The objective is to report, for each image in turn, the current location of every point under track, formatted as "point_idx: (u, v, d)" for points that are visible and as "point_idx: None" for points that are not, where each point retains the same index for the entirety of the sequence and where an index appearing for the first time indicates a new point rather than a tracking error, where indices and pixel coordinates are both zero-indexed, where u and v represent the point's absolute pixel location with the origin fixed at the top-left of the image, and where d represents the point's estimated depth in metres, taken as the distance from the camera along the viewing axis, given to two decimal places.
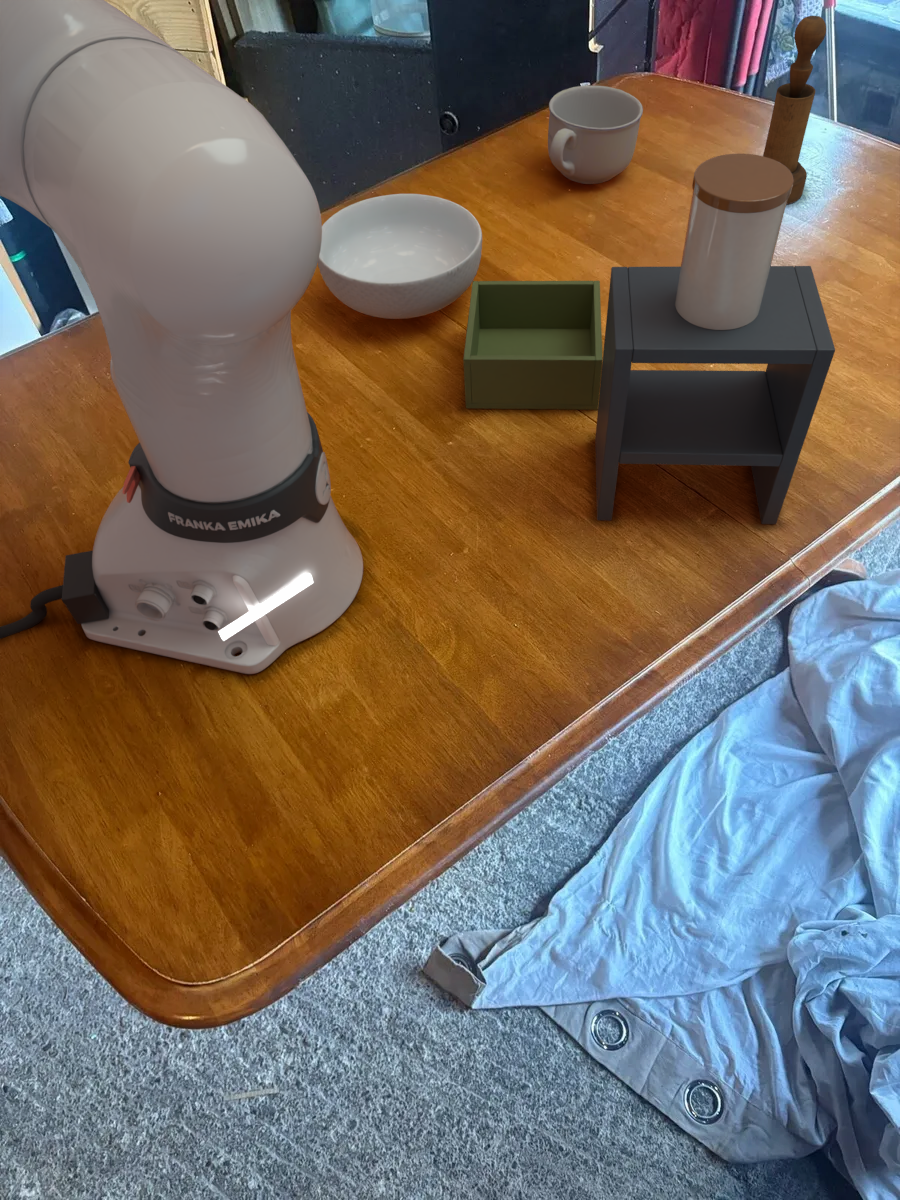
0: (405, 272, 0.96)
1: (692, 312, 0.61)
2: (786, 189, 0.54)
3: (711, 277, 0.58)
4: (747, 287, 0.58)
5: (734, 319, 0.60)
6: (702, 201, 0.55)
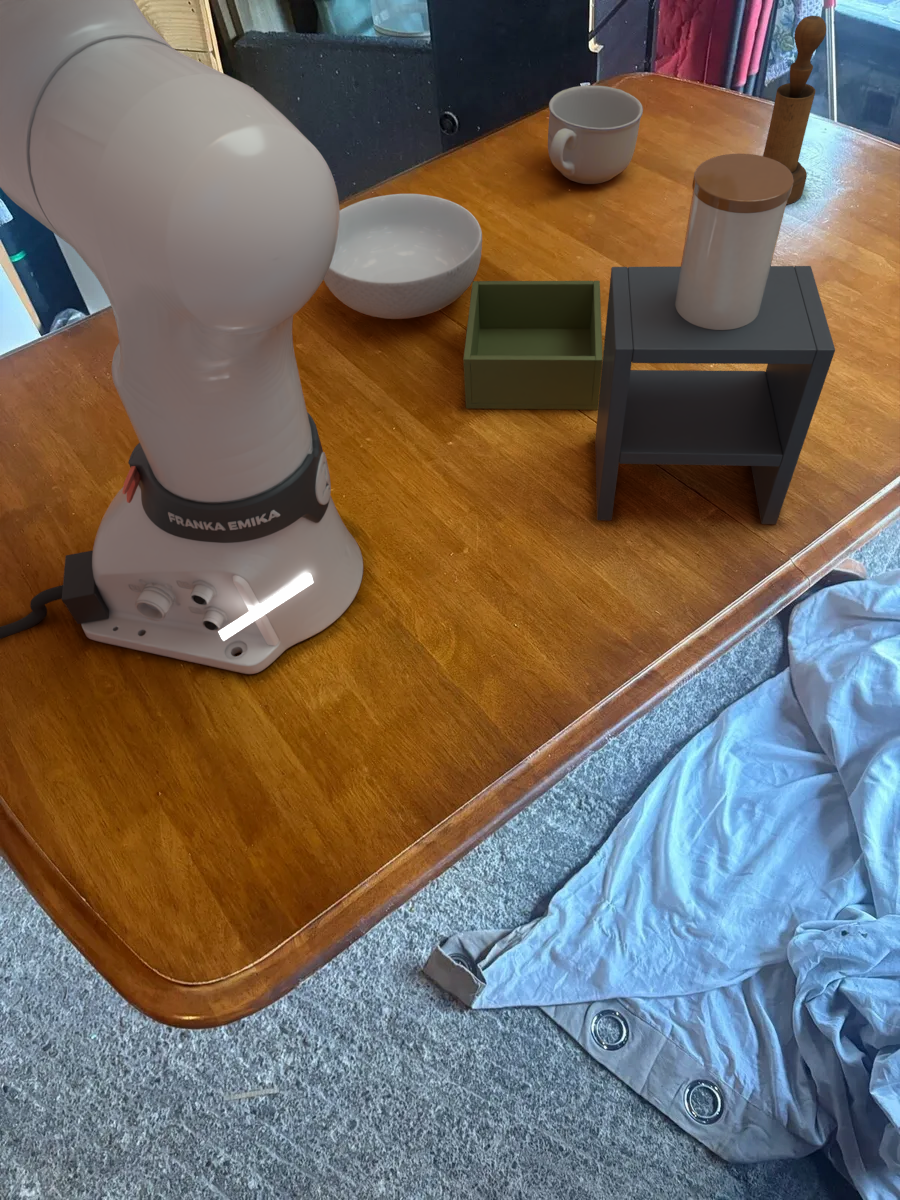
0: (405, 272, 0.96)
1: (692, 312, 0.61)
2: (786, 189, 0.54)
3: (711, 277, 0.58)
4: (747, 287, 0.58)
5: (734, 319, 0.60)
6: (702, 201, 0.55)
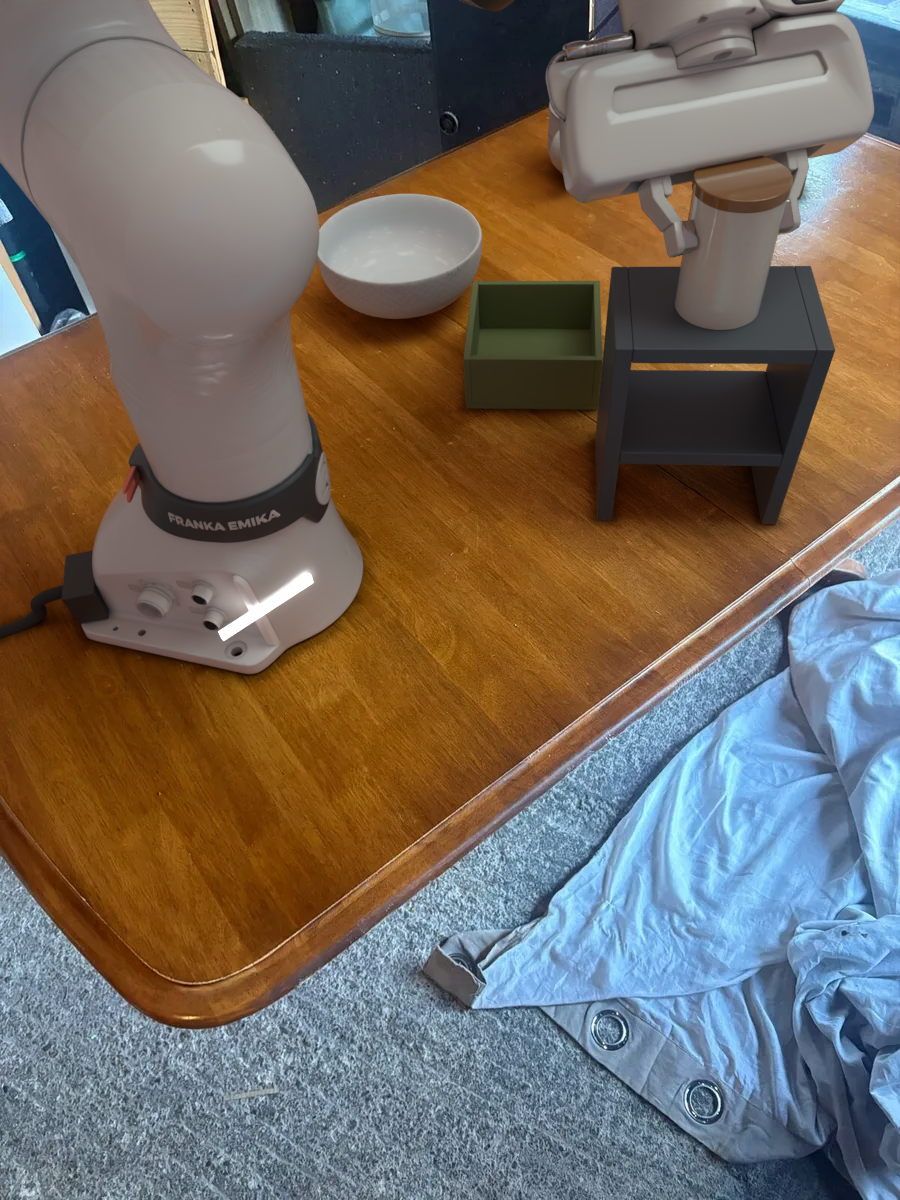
0: (405, 272, 0.96)
1: (691, 312, 0.61)
2: (785, 189, 0.54)
3: (711, 277, 0.58)
4: (746, 287, 0.58)
5: (734, 319, 0.60)
6: (701, 202, 0.55)
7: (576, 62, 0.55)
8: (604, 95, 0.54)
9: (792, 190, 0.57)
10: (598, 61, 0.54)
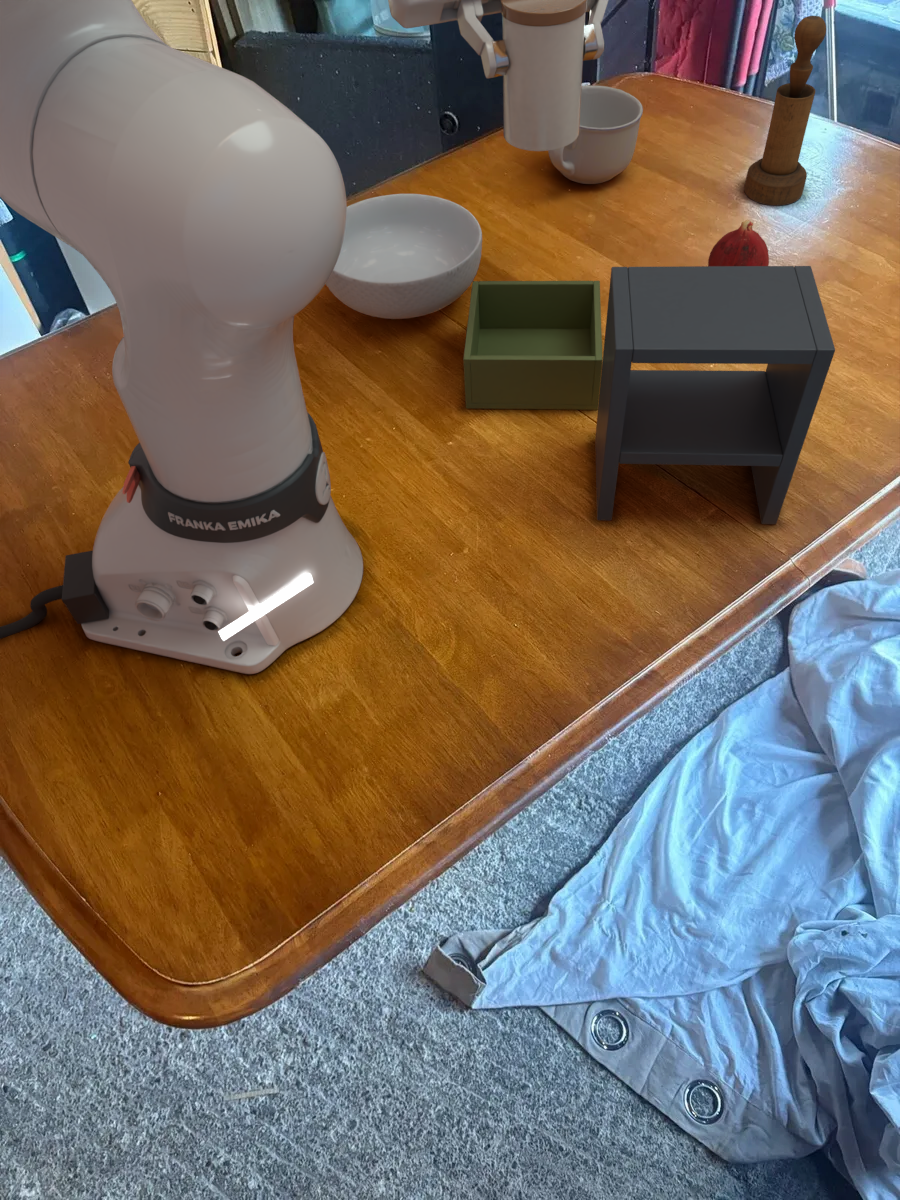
0: (405, 272, 0.96)
1: (513, 135, 0.67)
2: (578, 4, 0.60)
3: (523, 95, 0.64)
4: (556, 105, 0.64)
5: (550, 139, 0.66)
6: (506, 19, 0.61)
7: None
8: None
9: (595, 15, 0.63)
10: None
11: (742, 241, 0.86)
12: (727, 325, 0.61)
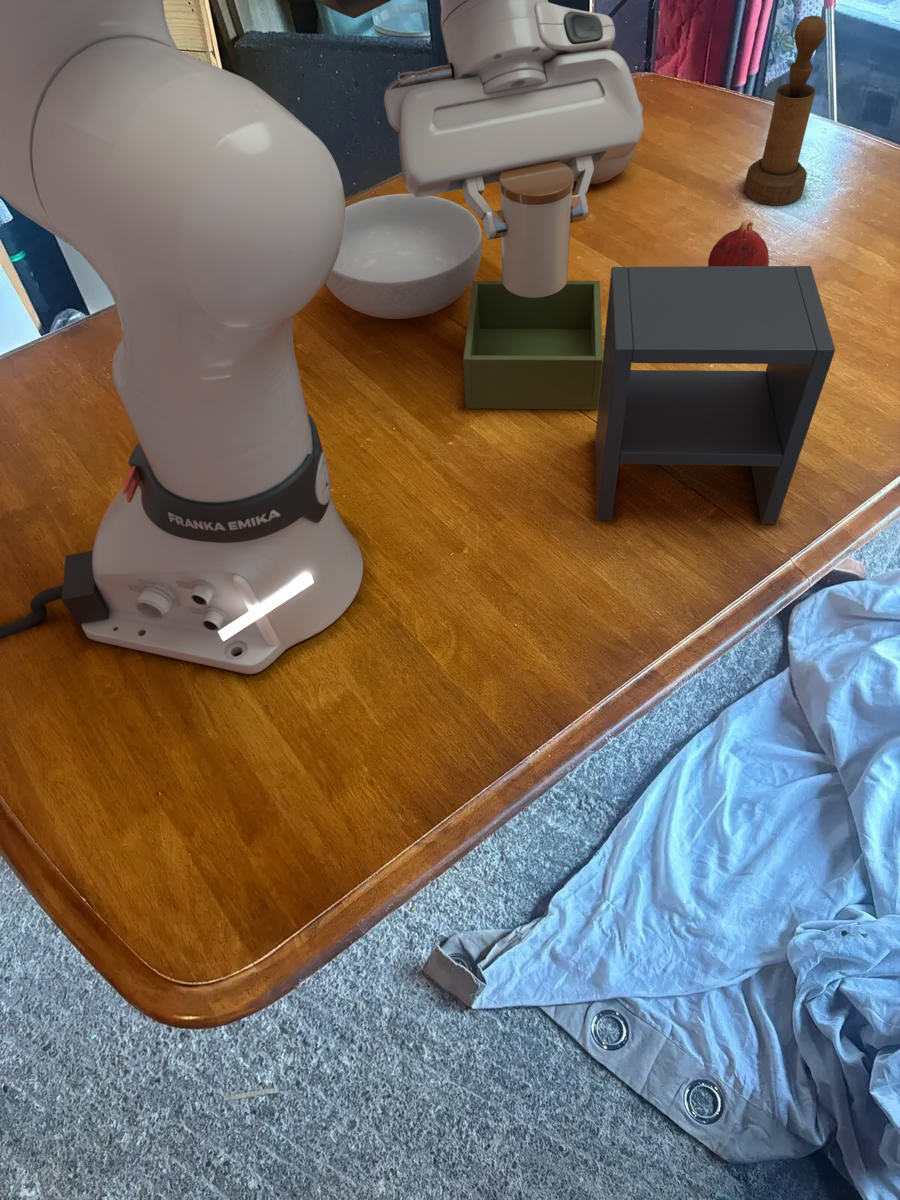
0: (405, 272, 0.96)
1: (511, 284, 0.77)
2: (565, 186, 0.70)
3: (519, 255, 0.74)
4: (548, 263, 0.75)
5: (542, 288, 0.76)
6: (504, 196, 0.71)
7: (407, 88, 0.71)
8: (427, 114, 0.71)
9: (581, 187, 0.74)
10: (421, 88, 0.70)
11: (742, 241, 0.86)
12: (727, 325, 0.61)
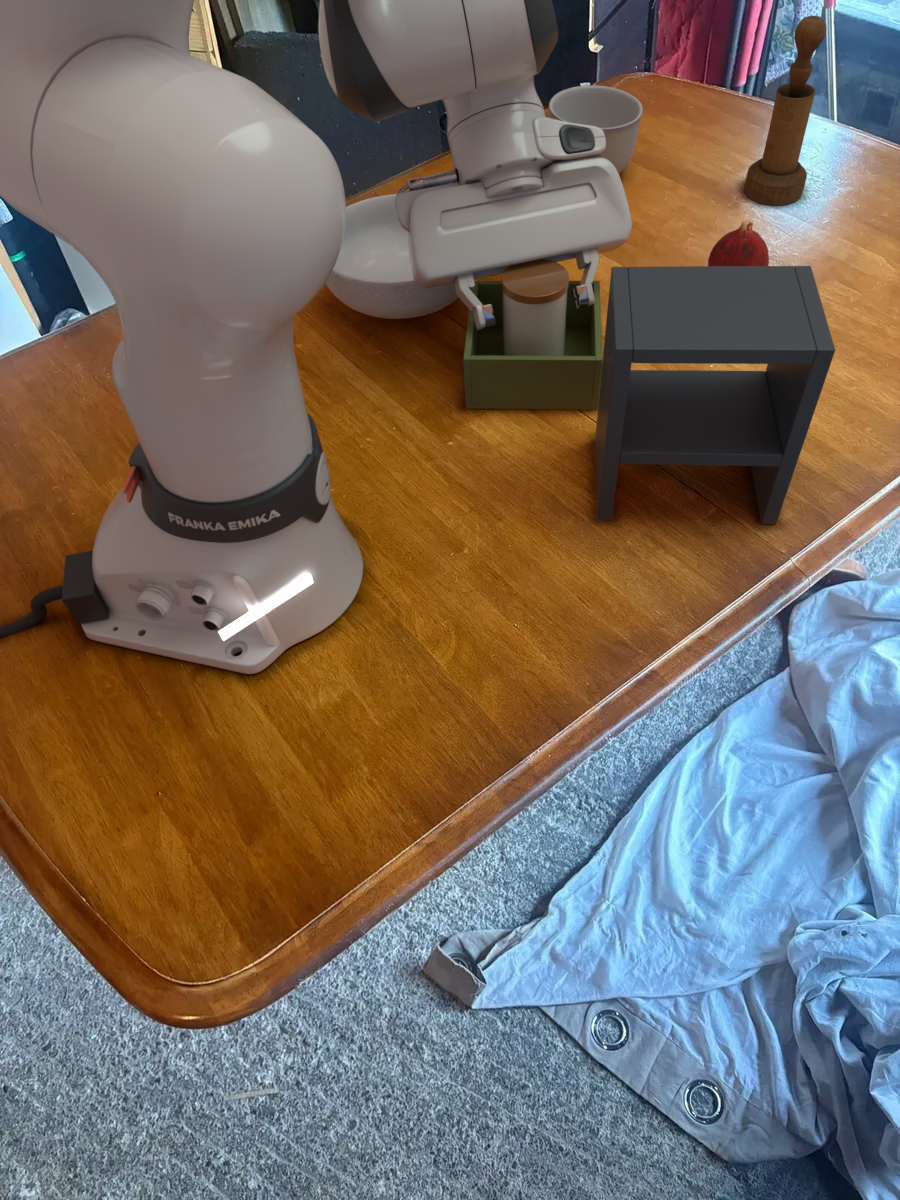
0: (405, 272, 0.96)
1: None
2: (561, 287, 0.77)
3: (519, 345, 0.81)
4: (545, 352, 0.82)
5: None
6: (505, 295, 0.79)
7: (416, 192, 0.78)
8: (434, 217, 0.77)
9: (587, 277, 0.81)
10: (429, 193, 0.77)
11: (742, 241, 0.86)
12: (727, 325, 0.61)
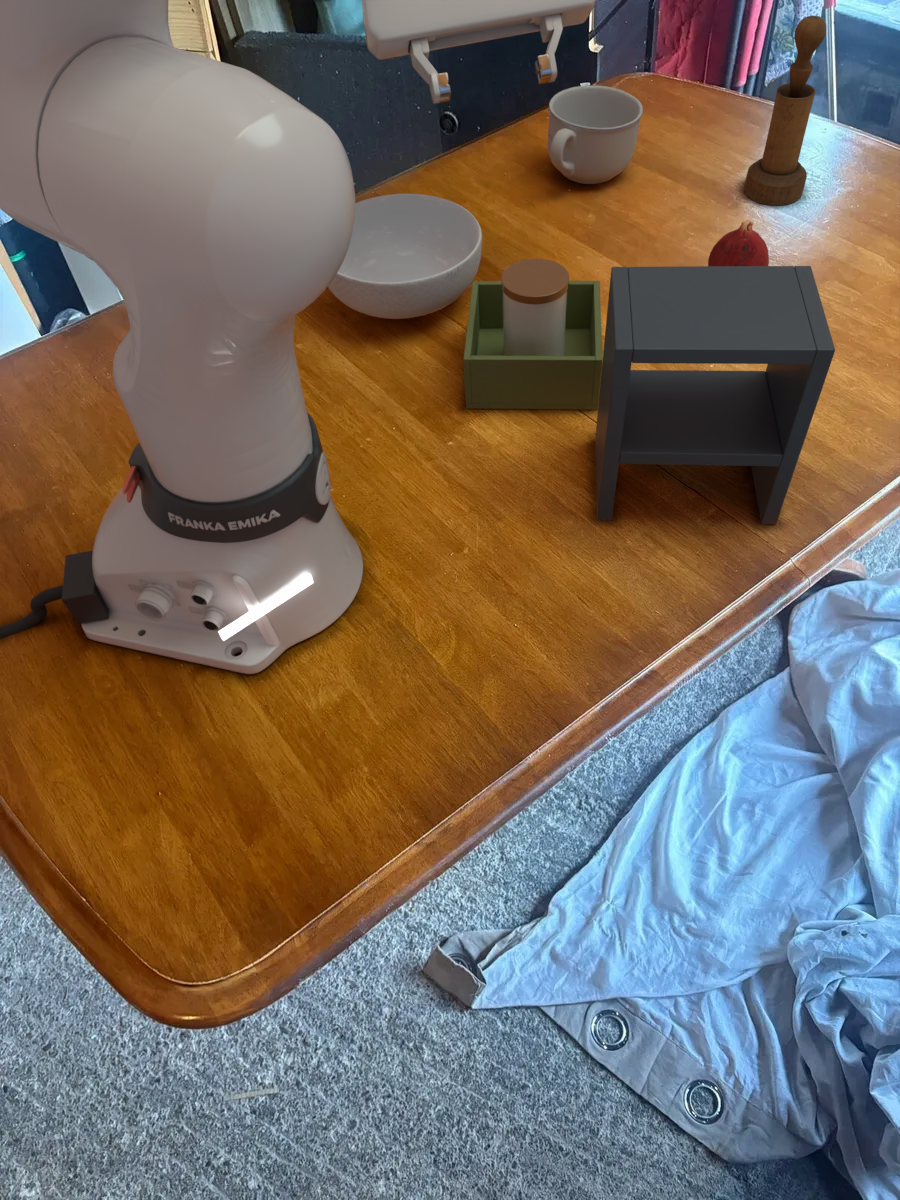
0: (405, 272, 0.96)
1: None
2: (561, 287, 0.77)
3: (519, 345, 0.81)
4: (545, 352, 0.82)
5: None
6: (505, 295, 0.79)
7: None
8: None
9: (550, 46, 0.76)
10: None
11: (742, 241, 0.86)
12: (727, 325, 0.61)
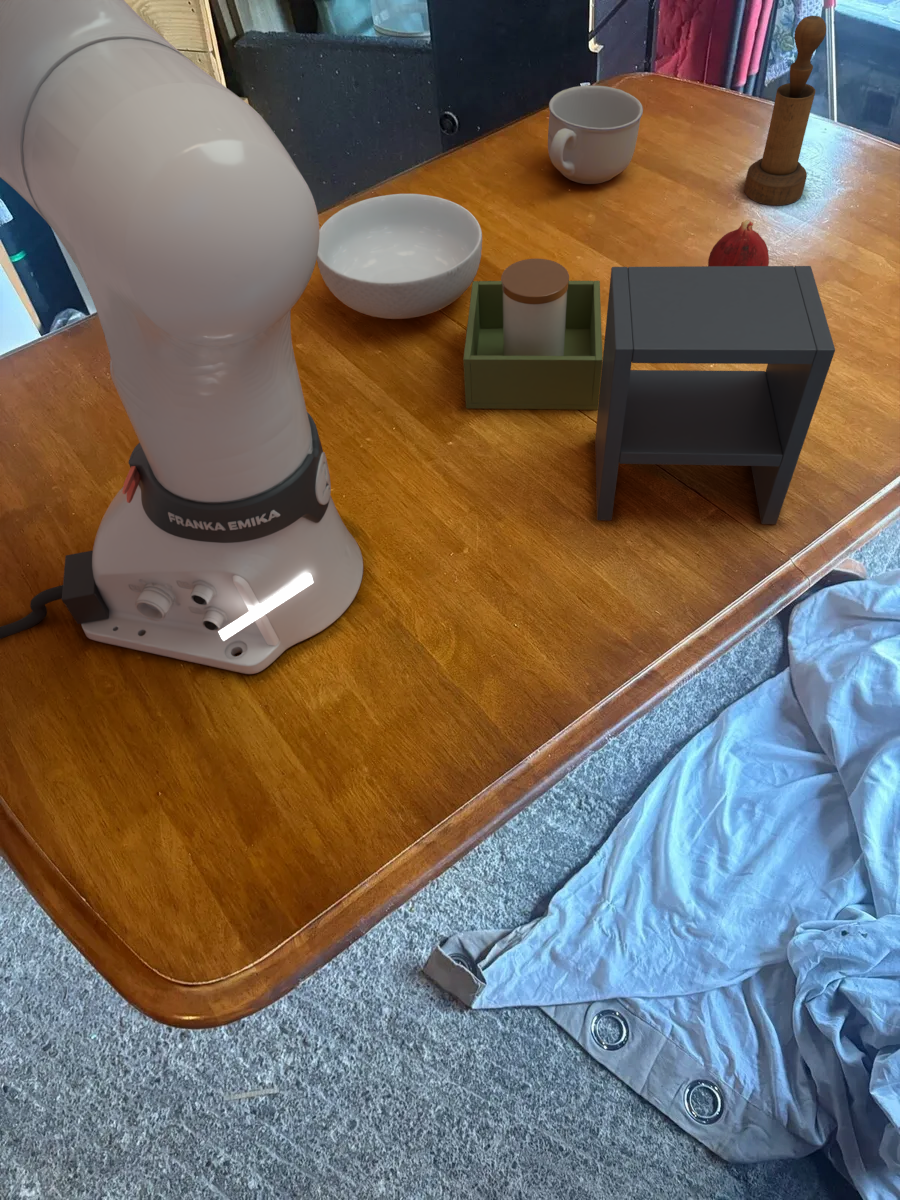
0: (405, 272, 0.96)
1: None
2: (561, 287, 0.77)
3: (519, 345, 0.81)
4: (545, 352, 0.82)
5: None
6: (505, 295, 0.79)
7: None
8: None
9: None
10: None
11: (742, 241, 0.86)
12: (727, 325, 0.61)
